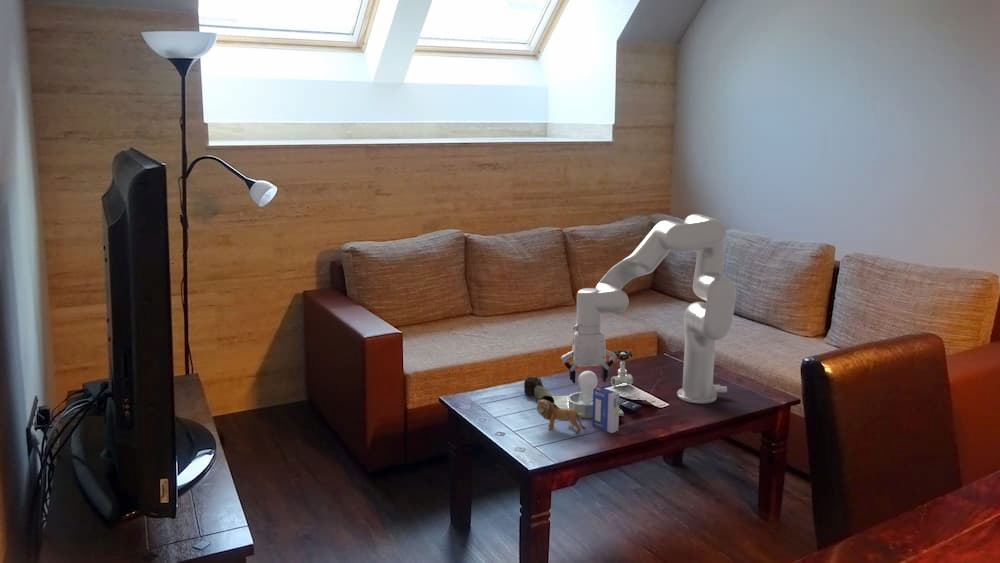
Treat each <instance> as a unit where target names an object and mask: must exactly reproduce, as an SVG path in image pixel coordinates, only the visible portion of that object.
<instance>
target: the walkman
mask: <svg viewBox="0 0 1000 563" xmlns="http://www.w3.org/2000/svg"><path fill="white" fill-rule="evenodd" d="M619 407H620V393H618V392H616V391H613V390H610V389H608V388H604V387H601V386H596V387H595V388H594V389H593V415H592V418H591V419H592V420H591V425H592V426H593V427H596V428H598V429H600V430H603V431H605V432H607V433H610V434H613V433H617V432H619V424H620V423H619V421H620V420H619V419H620V417H619ZM616 431H617V432H616Z"/></svg>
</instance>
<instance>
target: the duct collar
mask: <svg viewBox="0 0 1000 563" xmlns="http://www.w3.org/2000/svg"><path fill="white" fill-rule="evenodd" d="M551 396H552V397H553V398H554V404H556V405H557V407H559V408H562V409H568V408H572V409H574V410H576V411H577V412H578V414H579V416H580V419H592V415H593V404H587V405H586V404H585V403H583V396H582V391H576V392H573V393H572V392H571V393H570V394H569V395H551ZM591 399H593V394H592V397H591ZM620 408H621V407H620ZM620 408H619V409H620ZM624 414H625V413H624V411H623V410H622V408H621V409H620V410H619V416H622V417H623V416H624ZM622 417H621V418H622ZM623 418H624V417H623ZM576 419H578V417H577V416H576Z"/></svg>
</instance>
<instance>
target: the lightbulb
mask: <svg viewBox="0 0 1000 563" xmlns="http://www.w3.org/2000/svg"><path fill="white" fill-rule="evenodd" d="M577 382H578V386H579V387H580V389H581V392H582V396H583V403H585V404H586V405H587V404H590V403H591V397H592V394H593V389H594V388H597V386H598V382H599V379H598V376H597V374H596V373H595V372H593V371H591V370H585V371H582V372H581V373H580V374H579V376H578V378H577Z"/></svg>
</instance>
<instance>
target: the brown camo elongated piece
mask: <svg viewBox="0 0 1000 563" xmlns="http://www.w3.org/2000/svg"><path fill="white" fill-rule="evenodd" d="M523 385H524V386H523V388H524V390H523V391H524V392H523V393H524V395H525V396H526V397H528V398H536V400H537V402H539V401H540V400H543V399H544V400H548V401H550V402H551V403H554V398H553V397H552V396H553V395H551V393H550V392H549V391H548V390H547V389H546V387H545V386H544V385H543V381H541V378H539V377H537V376H535V377H533V376H532V375H531V376H528V377H527V378H525V380H524V383H523Z"/></svg>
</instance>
